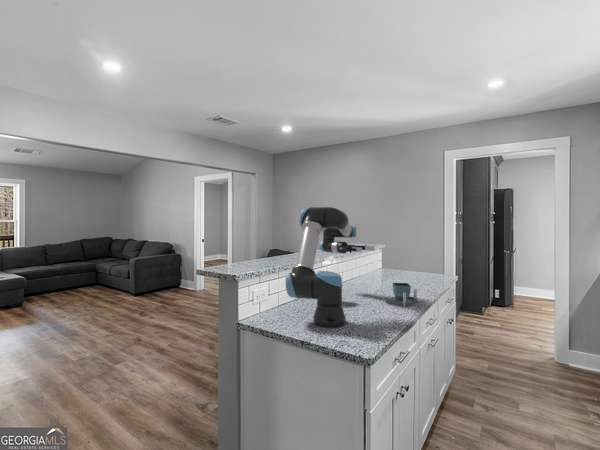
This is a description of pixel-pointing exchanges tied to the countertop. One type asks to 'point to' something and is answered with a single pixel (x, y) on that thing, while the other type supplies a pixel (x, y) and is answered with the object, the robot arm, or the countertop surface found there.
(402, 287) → the flower pot
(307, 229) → the robot arm
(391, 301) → the tray
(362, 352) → the countertop surface
